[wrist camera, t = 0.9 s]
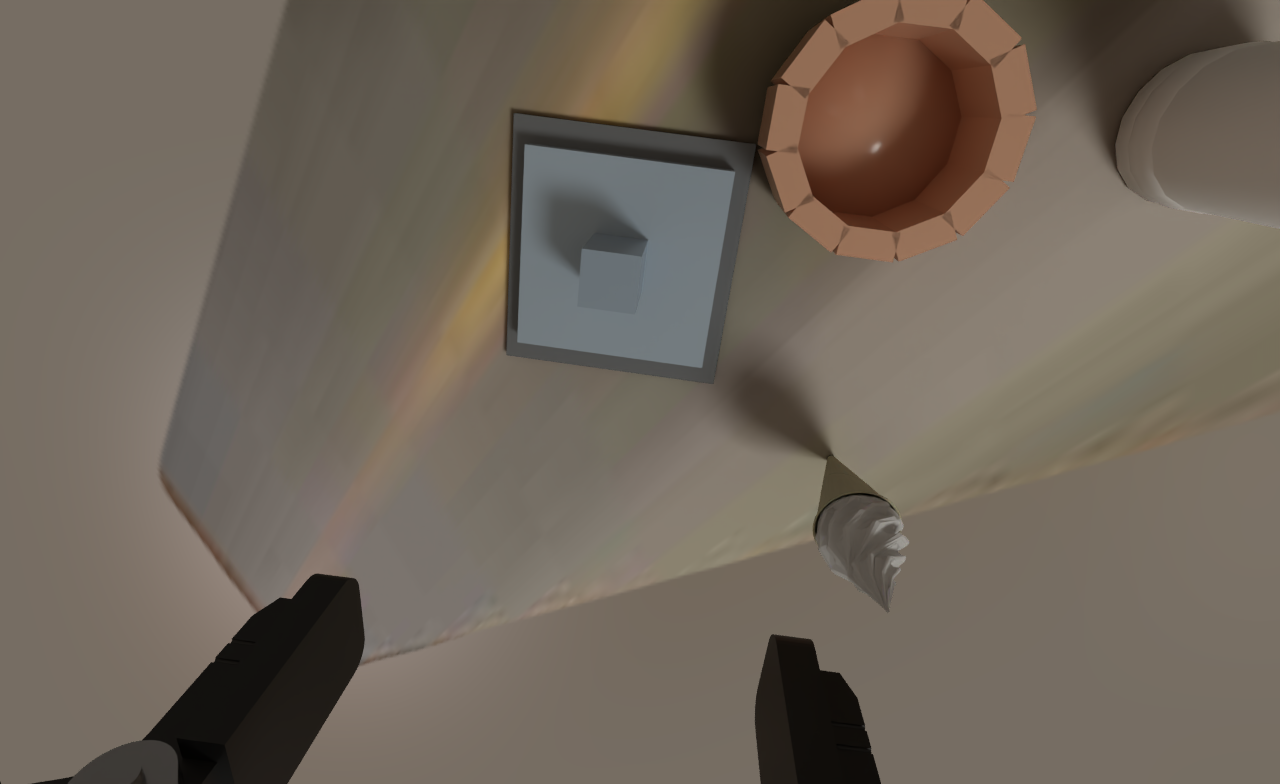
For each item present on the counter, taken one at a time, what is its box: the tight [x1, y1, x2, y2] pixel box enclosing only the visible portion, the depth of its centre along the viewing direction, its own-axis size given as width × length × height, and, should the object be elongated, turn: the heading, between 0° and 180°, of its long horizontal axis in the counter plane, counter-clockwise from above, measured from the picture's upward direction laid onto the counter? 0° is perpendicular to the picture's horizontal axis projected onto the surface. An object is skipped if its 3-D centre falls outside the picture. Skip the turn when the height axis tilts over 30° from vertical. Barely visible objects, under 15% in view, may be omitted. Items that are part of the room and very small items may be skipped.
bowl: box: [758, 0, 1037, 262], centre depth 33 cm, size 12×12×6 cm
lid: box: [517, 143, 735, 368], centre depth 37 cm, size 12×12×6 cm
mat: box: [506, 113, 756, 384], centre depth 40 cm, size 15×14×1 cm
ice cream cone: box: [813, 456, 909, 612], centre depth 38 cm, size 5×5×15 cm
